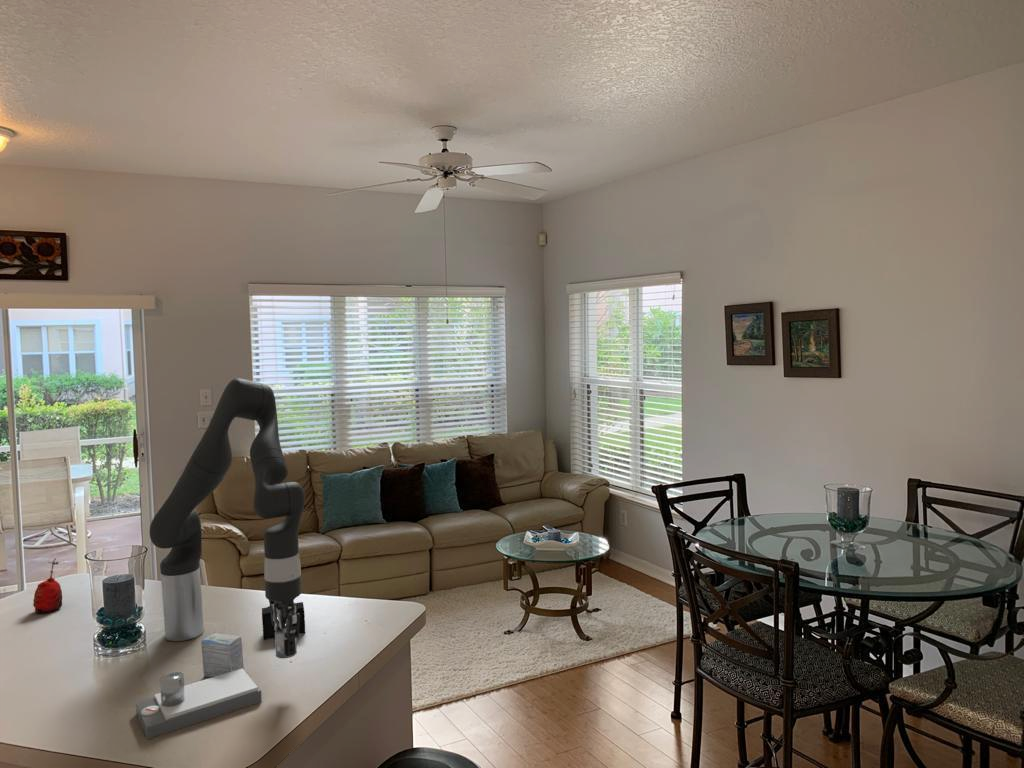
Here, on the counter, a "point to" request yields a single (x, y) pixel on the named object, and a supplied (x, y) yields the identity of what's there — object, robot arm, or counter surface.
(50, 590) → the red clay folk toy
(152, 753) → the counter surface
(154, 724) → the scale
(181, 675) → the cylinder
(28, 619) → the counter surface
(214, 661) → the medicine box
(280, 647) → the cylinder
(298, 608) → the digital camera
